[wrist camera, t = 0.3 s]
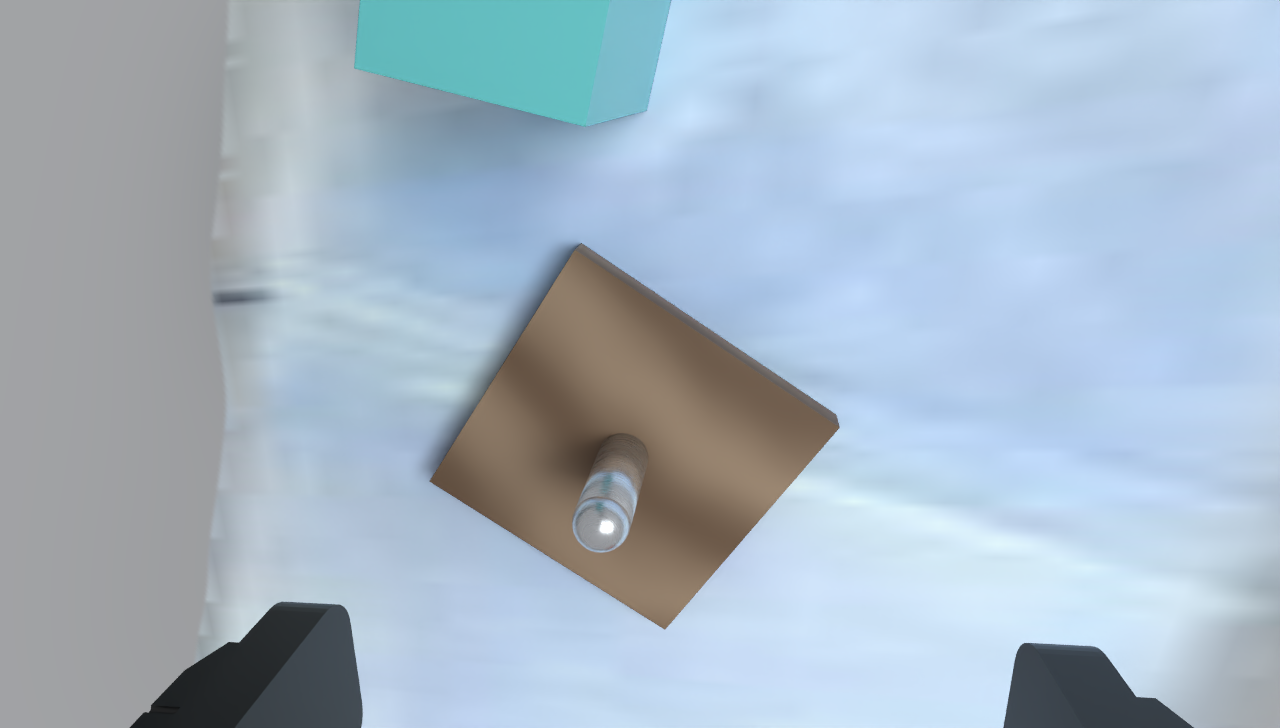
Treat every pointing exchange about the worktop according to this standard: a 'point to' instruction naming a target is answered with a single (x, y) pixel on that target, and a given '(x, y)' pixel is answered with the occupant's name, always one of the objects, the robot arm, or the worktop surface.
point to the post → (610, 494)
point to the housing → (521, 51)
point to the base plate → (643, 407)
